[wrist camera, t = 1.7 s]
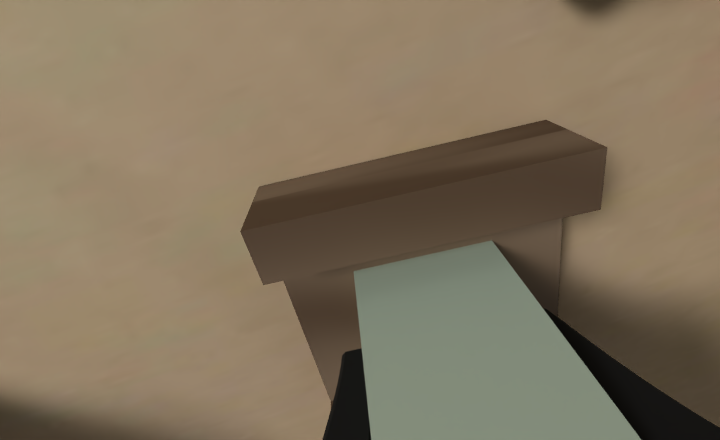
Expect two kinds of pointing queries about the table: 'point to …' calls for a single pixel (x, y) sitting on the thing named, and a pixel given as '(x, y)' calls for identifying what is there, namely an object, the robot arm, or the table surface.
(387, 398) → the sage block
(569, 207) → the notch rail
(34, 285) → the table surface
